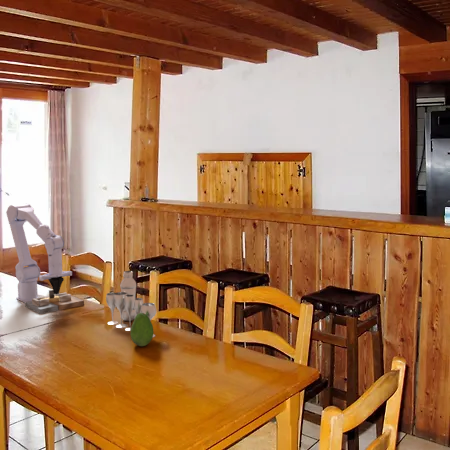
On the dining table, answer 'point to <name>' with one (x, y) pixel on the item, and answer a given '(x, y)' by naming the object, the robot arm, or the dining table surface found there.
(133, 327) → the avocado
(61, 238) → the robot arm
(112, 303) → the goblet set
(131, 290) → the plastic bottle
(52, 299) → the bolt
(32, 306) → the two-tone tabbed panel
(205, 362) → the dining table surface
